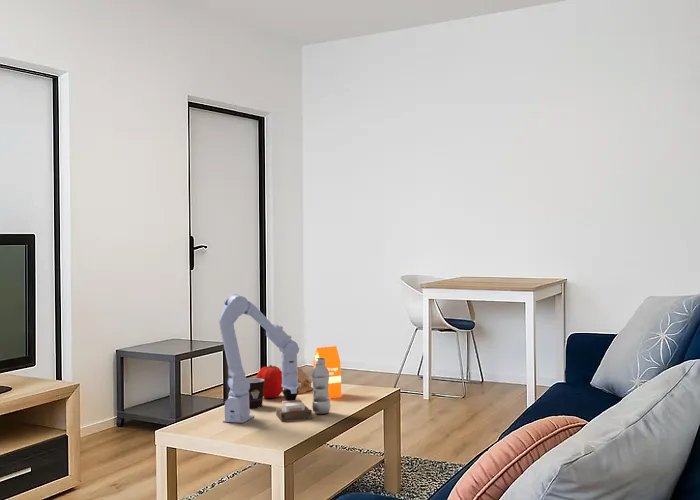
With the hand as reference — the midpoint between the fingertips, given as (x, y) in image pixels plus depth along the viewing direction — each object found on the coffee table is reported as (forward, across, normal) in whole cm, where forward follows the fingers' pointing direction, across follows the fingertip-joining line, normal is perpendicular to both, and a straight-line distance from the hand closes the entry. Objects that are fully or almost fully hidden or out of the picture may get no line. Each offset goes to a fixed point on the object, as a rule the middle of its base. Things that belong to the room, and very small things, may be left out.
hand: (290, 409), depth 263 cm
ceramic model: (+2, +37, -11) cm, 39 cm away
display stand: (+1, -5, 0) cm, 5 cm away
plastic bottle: (+2, -5, -10) cm, 12 cm away
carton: (+1, -5, 0) cm, 6 cm away
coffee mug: (+2, +16, +12) cm, 20 cm away
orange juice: (+2, +22, -20) cm, 30 cm away
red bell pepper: (+2, +28, +2) cm, 29 cm away
